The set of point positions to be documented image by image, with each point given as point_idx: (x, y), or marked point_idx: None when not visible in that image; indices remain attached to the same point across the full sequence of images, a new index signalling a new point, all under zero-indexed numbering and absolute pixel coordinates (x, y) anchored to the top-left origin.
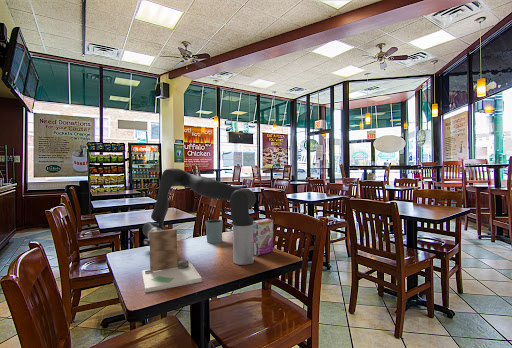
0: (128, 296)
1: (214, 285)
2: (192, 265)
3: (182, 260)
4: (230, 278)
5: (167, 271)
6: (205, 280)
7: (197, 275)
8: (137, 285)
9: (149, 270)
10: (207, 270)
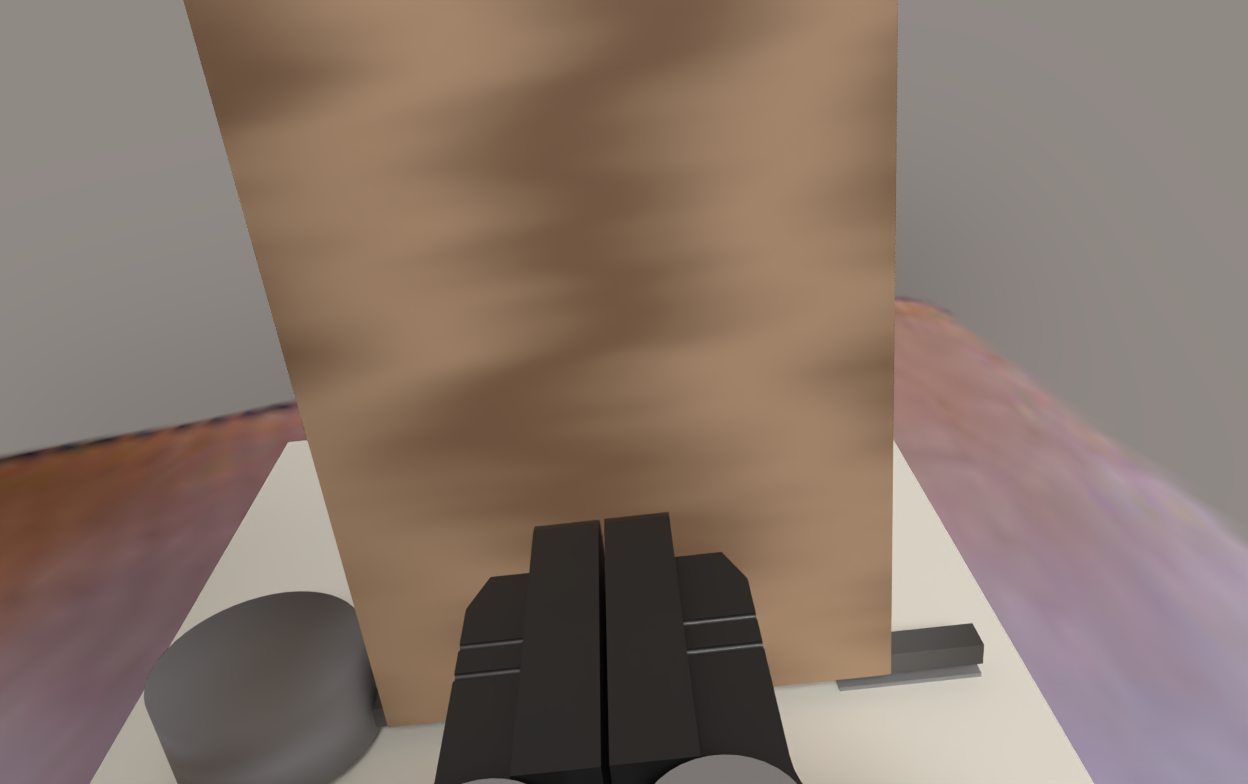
0: (1006, 396)
1: (252, 421)
2: (107, 760)
3: (229, 716)
4: (31, 482)
5: None
6: (250, 492)
7: (289, 481)
8: (1001, 532)
9: (901, 643)
10: (7, 695)
